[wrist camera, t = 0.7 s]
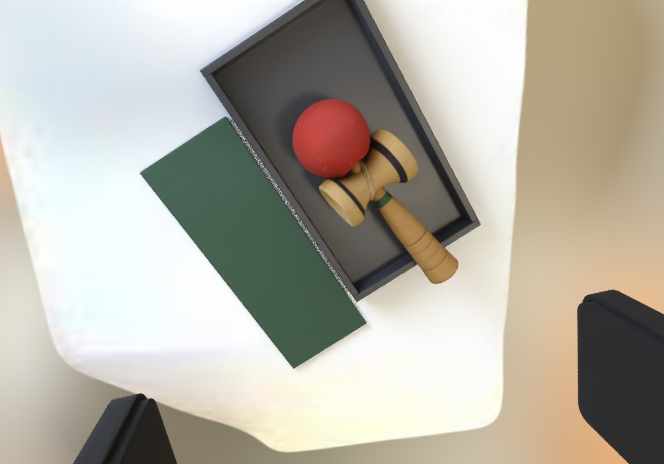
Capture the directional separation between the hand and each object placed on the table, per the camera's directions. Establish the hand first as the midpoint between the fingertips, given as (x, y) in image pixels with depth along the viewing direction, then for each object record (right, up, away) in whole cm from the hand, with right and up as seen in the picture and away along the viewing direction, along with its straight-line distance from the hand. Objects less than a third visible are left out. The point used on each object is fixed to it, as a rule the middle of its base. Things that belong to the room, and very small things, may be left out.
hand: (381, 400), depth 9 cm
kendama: (+3, +7, +28) cm, 29 cm away
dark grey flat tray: (0, +11, +28) cm, 30 cm away
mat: (-7, +2, +29) cm, 30 cm away
